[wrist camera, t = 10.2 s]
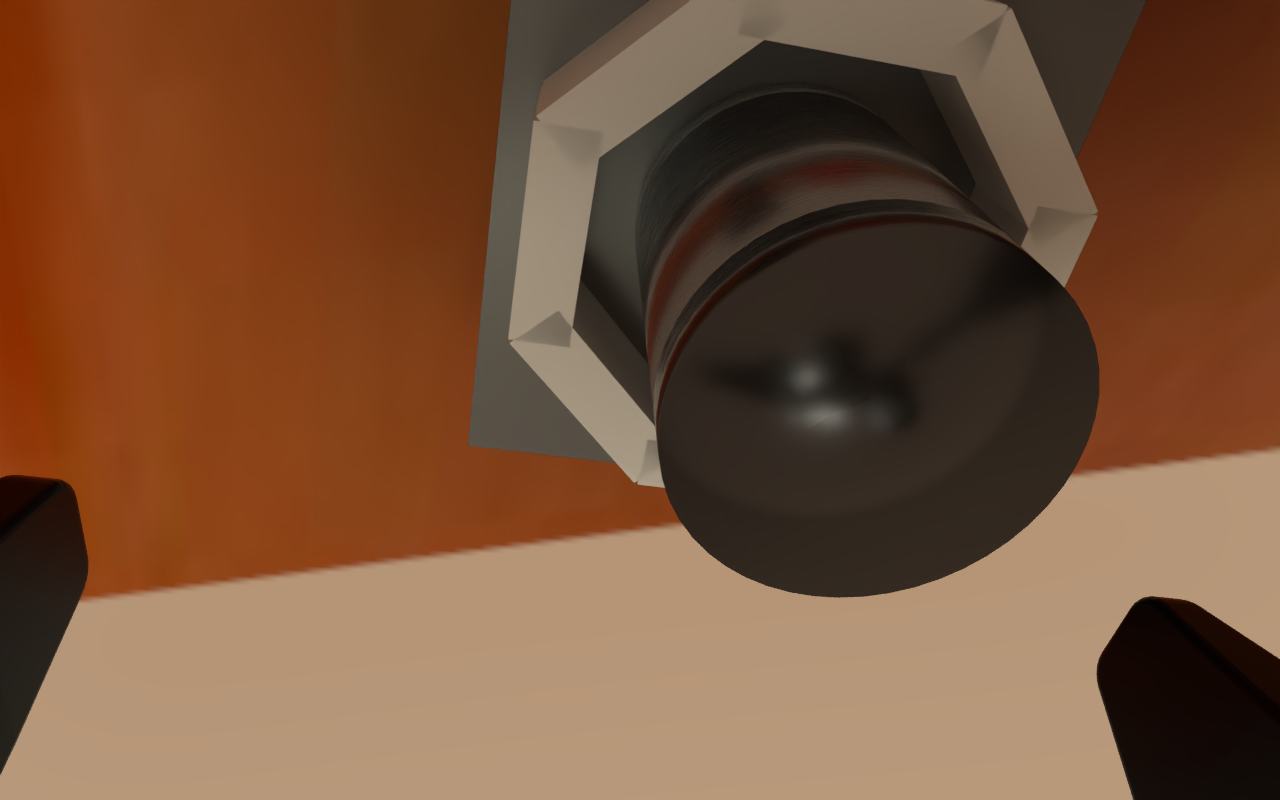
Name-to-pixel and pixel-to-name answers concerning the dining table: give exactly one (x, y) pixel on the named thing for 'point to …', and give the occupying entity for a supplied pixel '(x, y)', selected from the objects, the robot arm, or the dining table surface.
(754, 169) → the lens
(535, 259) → the camera body
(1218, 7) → the dining table surface
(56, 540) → the robot arm
